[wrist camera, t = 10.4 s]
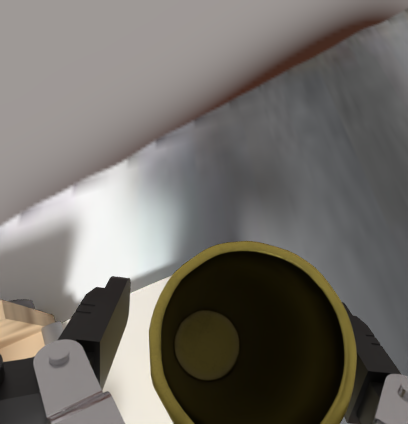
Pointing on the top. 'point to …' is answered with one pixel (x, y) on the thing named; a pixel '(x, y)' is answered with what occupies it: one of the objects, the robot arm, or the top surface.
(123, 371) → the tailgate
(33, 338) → the truck bed
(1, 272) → the top surface
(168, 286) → the vase
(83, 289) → the top surface
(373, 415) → the robot arm
